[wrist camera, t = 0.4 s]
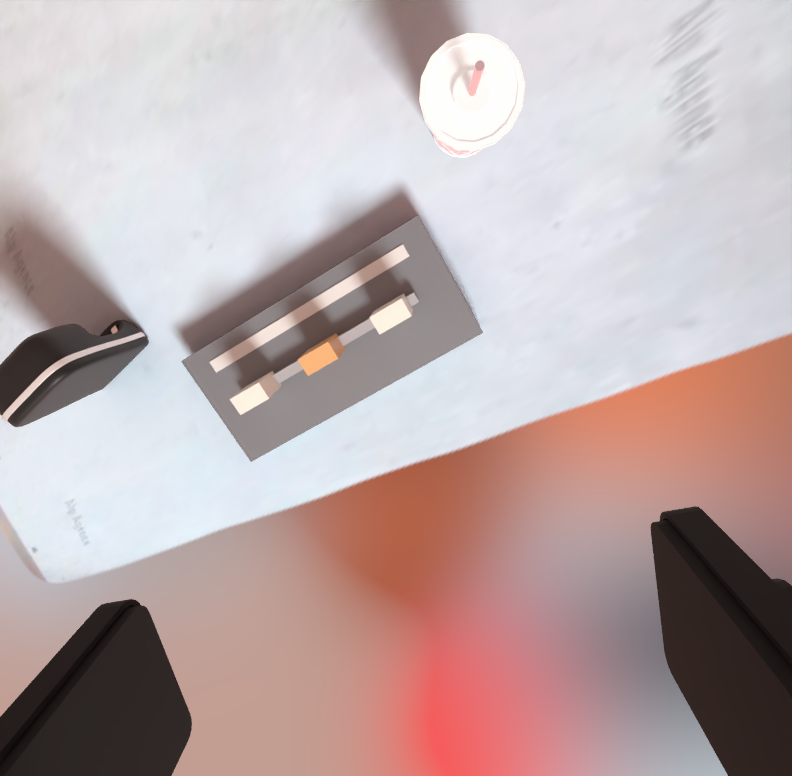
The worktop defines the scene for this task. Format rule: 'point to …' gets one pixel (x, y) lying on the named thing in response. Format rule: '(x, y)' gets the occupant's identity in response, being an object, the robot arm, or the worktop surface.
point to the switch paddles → (324, 352)
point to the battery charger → (63, 368)
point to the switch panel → (337, 313)
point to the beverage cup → (471, 93)
